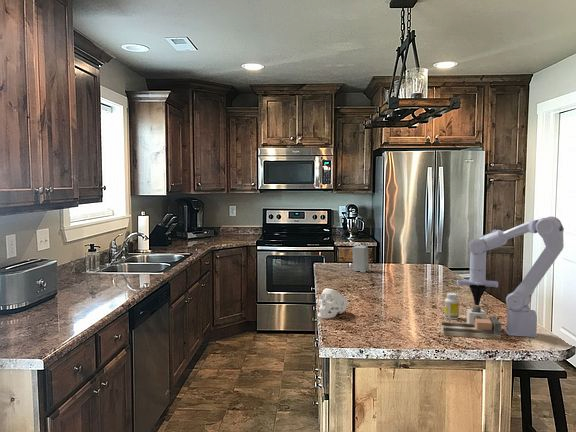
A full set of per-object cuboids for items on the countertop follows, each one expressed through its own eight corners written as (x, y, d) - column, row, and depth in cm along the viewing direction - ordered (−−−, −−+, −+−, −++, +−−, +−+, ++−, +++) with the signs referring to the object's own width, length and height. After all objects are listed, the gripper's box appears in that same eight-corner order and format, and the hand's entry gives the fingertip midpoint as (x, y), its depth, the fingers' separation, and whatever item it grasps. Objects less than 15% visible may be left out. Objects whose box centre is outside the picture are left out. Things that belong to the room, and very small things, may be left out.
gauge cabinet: (483, 323, 183) (483, 309, 183) (486, 328, 177) (486, 314, 177) (466, 322, 184) (467, 308, 184) (469, 327, 178) (469, 313, 178)
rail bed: (495, 331, 173) (495, 316, 173) (500, 339, 165) (501, 323, 164) (441, 327, 177) (441, 313, 177) (443, 335, 169) (444, 320, 168)
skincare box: (368, 271, 295) (369, 246, 294) (364, 273, 289) (364, 247, 288) (356, 269, 299) (356, 245, 298) (351, 271, 293) (352, 246, 292)
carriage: (489, 327, 172) (489, 319, 172) (492, 332, 167) (492, 323, 167) (474, 327, 173) (474, 318, 173) (477, 331, 168) (477, 322, 168)
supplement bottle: (460, 317, 192) (461, 293, 191) (455, 320, 187) (455, 296, 187) (447, 315, 195) (448, 291, 194) (442, 317, 191) (442, 294, 190)
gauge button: (479, 319, 182) (479, 306, 181) (480, 321, 179) (481, 308, 179) (471, 319, 182) (472, 306, 182) (473, 321, 180) (473, 308, 179)
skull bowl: (307, 313, 192) (317, 285, 197) (325, 325, 202) (334, 298, 206) (327, 317, 185) (337, 289, 189) (345, 330, 194) (354, 302, 198)
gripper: (459, 270, 177) (458, 306, 178) (500, 272, 174) (499, 308, 175) (456, 267, 184) (455, 301, 185) (496, 269, 181) (495, 303, 182)
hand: (476, 304), depth 180 cm, fingers closed
